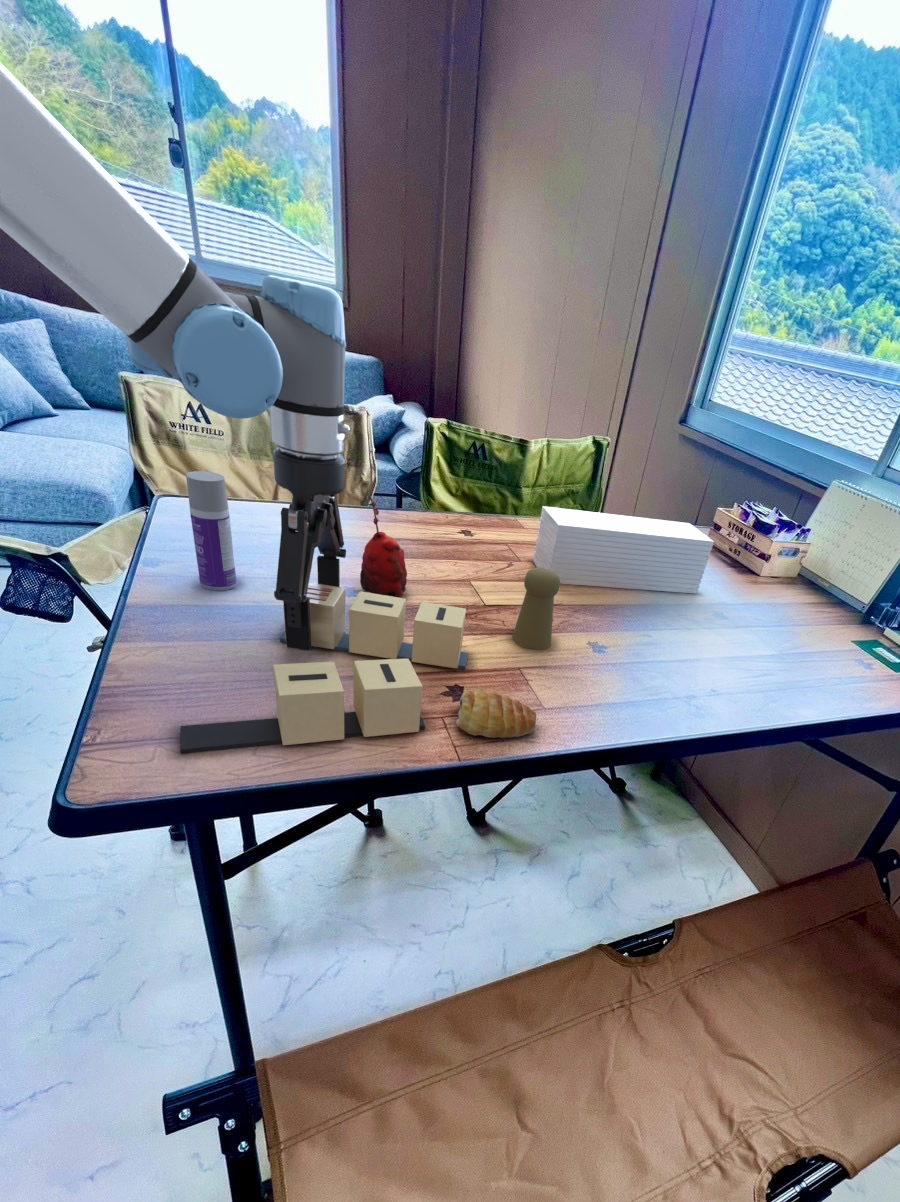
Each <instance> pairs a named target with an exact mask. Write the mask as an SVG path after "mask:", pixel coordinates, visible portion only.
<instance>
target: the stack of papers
mask: <svg viewBox="0 0 900 1202" xmlns="http://www.w3.org/2000/svg"><path fill="white" fill-rule="evenodd" d="M537 531H538V532H537V536H536V542H535V547H534V552H533V558H532V562H533V563H534V565H535V566H536V568H538V567H540V568H546V569H550V570H552V571H554V572H555V573H557V574H558V576H559V578H560V585H561V584H562V585H574V586H575V585H576V586H587V587H588V586H589V587H602V588H613V589H615V588H616V589H628V590H640V591H641V590H642V591H643V590H644V591H658V592H672V593H685V594H686V593H687V594H698V591H699V588H700V584H701V582H702V579H703V577H704V574H705V570H706V568H707V564H708V561H709V559H710V556H711V552H712V550H713V547H714V543H715V541H714V540H712V539H711V537H709V536H708V535H706V533H703V532H702V531H700V530H699V529H698V528H696V526H694V525H693V524H691V523H690V522H681V521H674V520H666V519H665V520H664V519H656V518H648V517H639V516H631V515H622V514H614V513H613V514H612V513H604V512H598V511H597V512H596V511H587V510H579V509H571V508H561V507H553V506H546V505H545V506H544V505H542V508H541V512H540V518H539V524H538V529H537Z"/></svg>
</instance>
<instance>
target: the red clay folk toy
mask: <svg viewBox="0 0 900 1202" xmlns="http://www.w3.org/2000/svg"><path fill="white" fill-rule="evenodd" d="M367 497H368V499H369V501H370V502H371V503H366V504H365V506H372V510H373V516H374V518H373V524H374V525H375V528H376V532H375V533H374V534H373V535H372V537H371V539H369V540H368V541H367V543H366V544H365V546H364V551H363V553H362V557H361V559H362V562H361V570H360V574H359V576H360V577H359V578H360V579H359V582H360V586H361V588H362V589H363V590H364V591H365V592H368V593H374V594H380V595H386V596H392V597H398V598H402V596H403V593H405V592H406V590H407V589H406V586H407V584H408V583H407V582H408V579H407V576H408V571H407V567H406V561H405V550H404V549H403V548H402V547H401V546H400V544H399V543H398V542H397V539H395V538H394V537H392V536H389V535H387V534H386V532H384V531H379V526H378V525H379V523H378V522H379V521H380V518H378V517H377V516H379V514H380V511H379V508H377V506H376V505H377V502H378V501H379V498H376V500H375V501H374V500H373V498H372V496H371V495H370V494H368V495H367Z"/></svg>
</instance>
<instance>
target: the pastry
mask: <svg viewBox="0 0 900 1202" xmlns="http://www.w3.org/2000/svg"><path fill="white" fill-rule="evenodd" d="M459 707H460V709H459V710H458V712H457V713H458V714H457V715H458V718H457V719H456V721H455V722H456V724H455V725H456V726H457V727H458V728H459V729H461V730H462V731H464V732H465V733H466V734H467V735H471V736H475V737H476V736H483V737H485V738H493V739H495V738H502V739H504V738H505V739H506V738H508V739H510V738H518V737H523V736H526V735H529V734H532V732H534V731H535V730H536V724H537V712H536V711H534V710H533V709H532V707H530V706H529V705H526V704H525V703H522V702H521V701H520V700H517V699H512V698H511V697H510V696H509V695H501V694H499V693H498V692H497V691H496V690H492V691H490V692H488V691H486V690H484V689H482V688H477V689H476V690H474V691H471V690H469V689H464V690H463V692H462V694H461V696H460V699H459Z"/></svg>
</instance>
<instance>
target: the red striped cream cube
mask: <svg viewBox="0 0 900 1202" xmlns="http://www.w3.org/2000/svg"><path fill="white" fill-rule="evenodd" d="M307 598H310V624H311V647H315V648H321V647H322V649H328V648H329V650H334V648H335V646H336V645H337V643H338V641H339V639H340V638H341V636H342V634H343V633H345V630H346V588H345V587H341V586H340V587H335V586H328V585H322V584H318V583H316V582H310V581H309V584H308V590H307ZM282 604H283V608H284V601H282ZM283 619H284V620H283V621H284V622H283V623H285V615H284V614H283ZM284 631H285V630H284ZM285 638H286V631H285Z"/></svg>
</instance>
